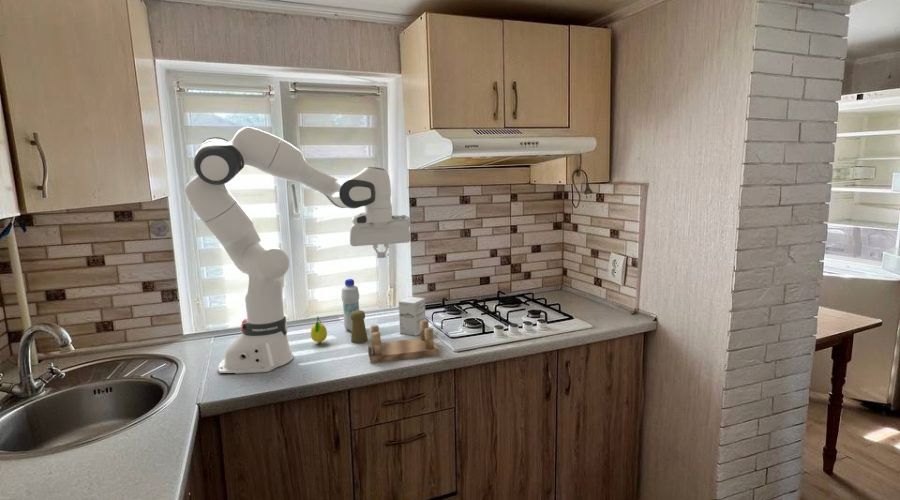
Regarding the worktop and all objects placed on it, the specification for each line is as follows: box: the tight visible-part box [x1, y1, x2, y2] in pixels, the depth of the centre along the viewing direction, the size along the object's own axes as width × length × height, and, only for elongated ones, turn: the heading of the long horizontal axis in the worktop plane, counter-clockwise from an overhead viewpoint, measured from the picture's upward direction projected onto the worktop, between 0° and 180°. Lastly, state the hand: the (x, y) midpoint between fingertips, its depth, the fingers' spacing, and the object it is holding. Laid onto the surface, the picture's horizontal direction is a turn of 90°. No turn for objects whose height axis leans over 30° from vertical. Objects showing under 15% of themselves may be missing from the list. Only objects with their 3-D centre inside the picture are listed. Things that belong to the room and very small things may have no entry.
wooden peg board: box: [367, 319, 439, 364], centre depth 157 cm, size 22×12×8 cm, turn 103°
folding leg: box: [370, 331, 382, 355], centre depth 153 cm, size 8×3×6 cm, turn 11°
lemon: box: [310, 315, 328, 344], centre depth 168 cm, size 7×6×10 cm
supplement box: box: [398, 296, 427, 337], centre depth 176 cm, size 7×7×13 cm
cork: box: [350, 309, 369, 345], centre depth 169 cm, size 6×6×11 cm
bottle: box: [341, 278, 360, 333], centre depth 181 cm, size 7×7×20 cm
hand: (381, 257), depth 159 cm, fingers closed
